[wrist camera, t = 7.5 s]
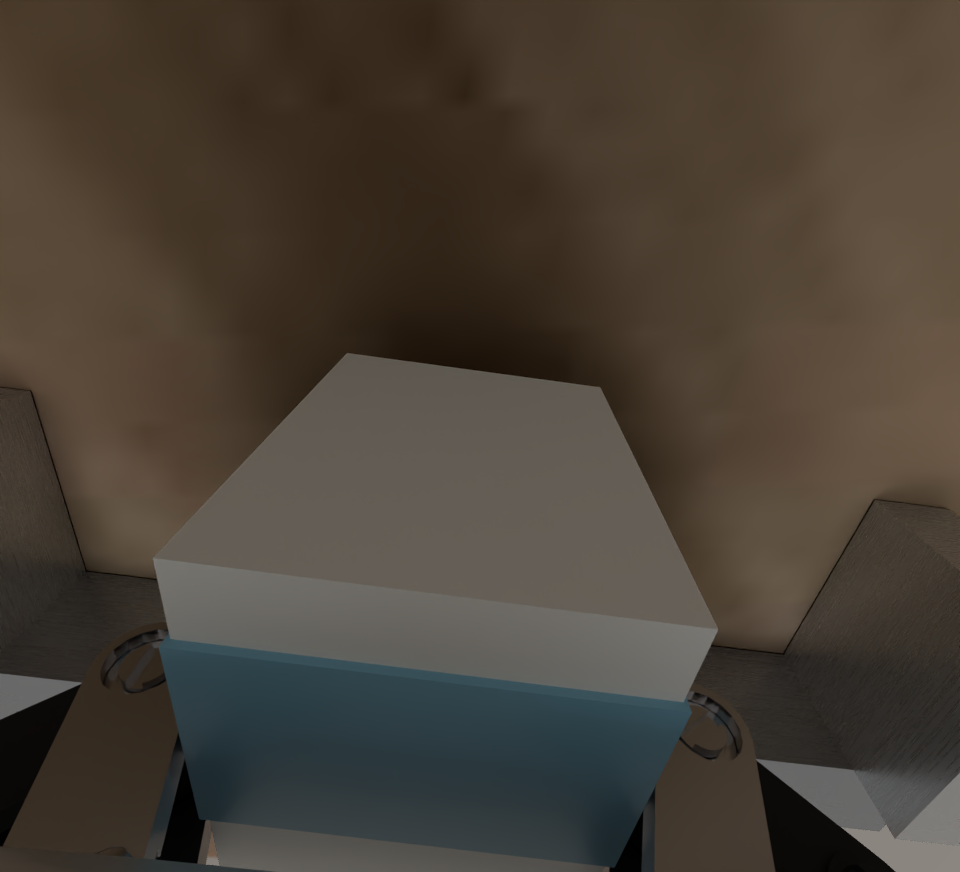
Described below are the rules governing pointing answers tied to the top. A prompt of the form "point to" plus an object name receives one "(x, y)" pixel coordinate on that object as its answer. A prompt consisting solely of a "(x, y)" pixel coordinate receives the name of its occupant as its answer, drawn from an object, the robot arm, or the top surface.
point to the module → (430, 631)
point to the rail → (727, 672)
